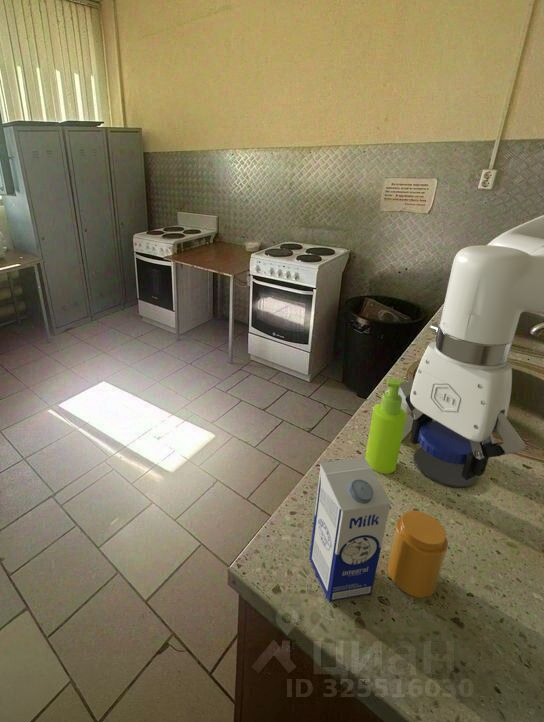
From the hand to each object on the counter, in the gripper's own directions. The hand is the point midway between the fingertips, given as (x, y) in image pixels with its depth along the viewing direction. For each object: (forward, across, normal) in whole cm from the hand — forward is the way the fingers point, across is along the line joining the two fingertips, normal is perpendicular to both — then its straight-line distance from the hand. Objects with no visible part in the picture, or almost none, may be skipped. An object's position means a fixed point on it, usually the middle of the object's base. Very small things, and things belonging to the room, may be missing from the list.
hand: (443, 456), depth 56 cm
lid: (-3, 0, 0) cm, 3 cm away
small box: (+21, -24, +24) cm, 40 cm away
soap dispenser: (+21, -17, +12) cm, 30 cm away
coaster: (+21, -11, +23) cm, 33 cm away
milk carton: (+21, -3, -13) cm, 25 cm away
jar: (+21, +1, -3) cm, 21 cm away
